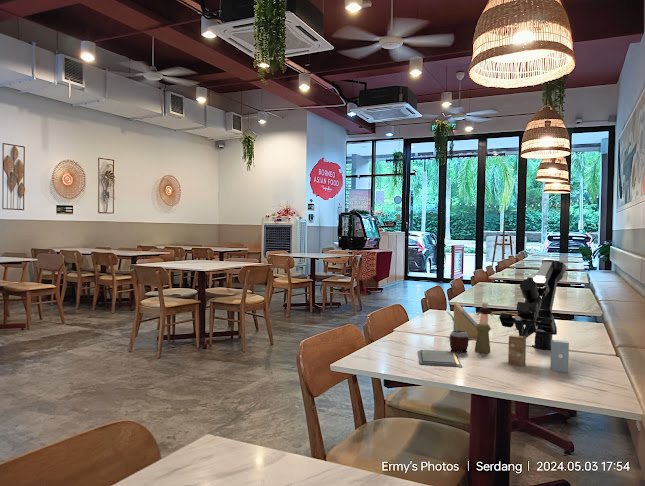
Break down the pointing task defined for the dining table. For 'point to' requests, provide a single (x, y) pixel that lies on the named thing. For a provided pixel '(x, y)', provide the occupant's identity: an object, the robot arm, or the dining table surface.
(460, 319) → the sandwich container
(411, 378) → the dining table surface
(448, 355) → the grey notebook
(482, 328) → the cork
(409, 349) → the dining table surface
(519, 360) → the brown rectangular box
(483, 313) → the grandmother figurine
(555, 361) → the grey rectangular block
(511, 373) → the dining table surface
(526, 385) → the dining table surface
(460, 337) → the mate gourd
